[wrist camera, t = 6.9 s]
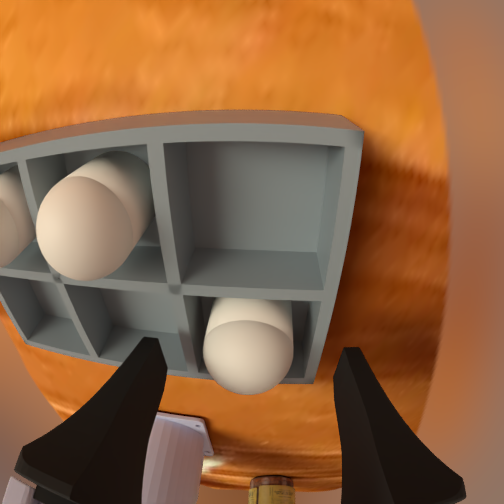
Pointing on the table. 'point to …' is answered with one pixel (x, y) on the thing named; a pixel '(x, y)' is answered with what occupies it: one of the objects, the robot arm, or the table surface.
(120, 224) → the egg
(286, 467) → the table surface
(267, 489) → the sauce bottle
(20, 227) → the egg
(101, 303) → the carton
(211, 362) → the egg
